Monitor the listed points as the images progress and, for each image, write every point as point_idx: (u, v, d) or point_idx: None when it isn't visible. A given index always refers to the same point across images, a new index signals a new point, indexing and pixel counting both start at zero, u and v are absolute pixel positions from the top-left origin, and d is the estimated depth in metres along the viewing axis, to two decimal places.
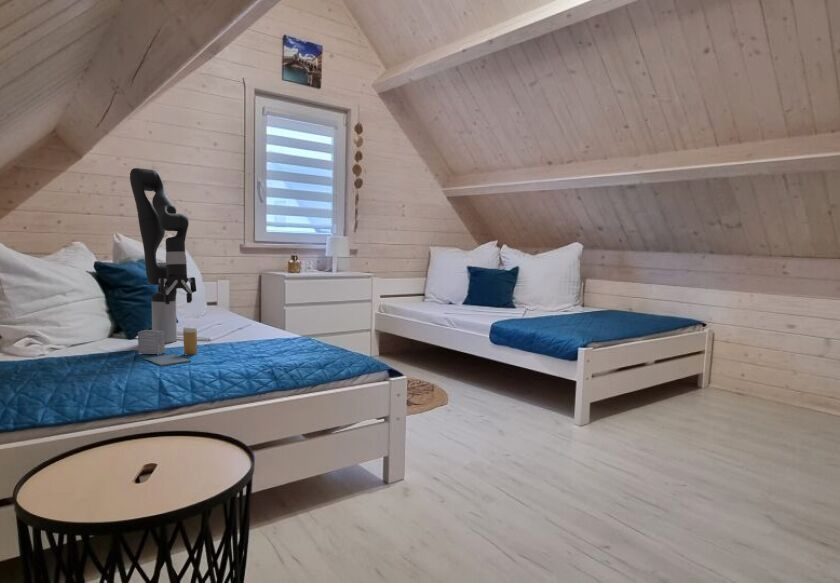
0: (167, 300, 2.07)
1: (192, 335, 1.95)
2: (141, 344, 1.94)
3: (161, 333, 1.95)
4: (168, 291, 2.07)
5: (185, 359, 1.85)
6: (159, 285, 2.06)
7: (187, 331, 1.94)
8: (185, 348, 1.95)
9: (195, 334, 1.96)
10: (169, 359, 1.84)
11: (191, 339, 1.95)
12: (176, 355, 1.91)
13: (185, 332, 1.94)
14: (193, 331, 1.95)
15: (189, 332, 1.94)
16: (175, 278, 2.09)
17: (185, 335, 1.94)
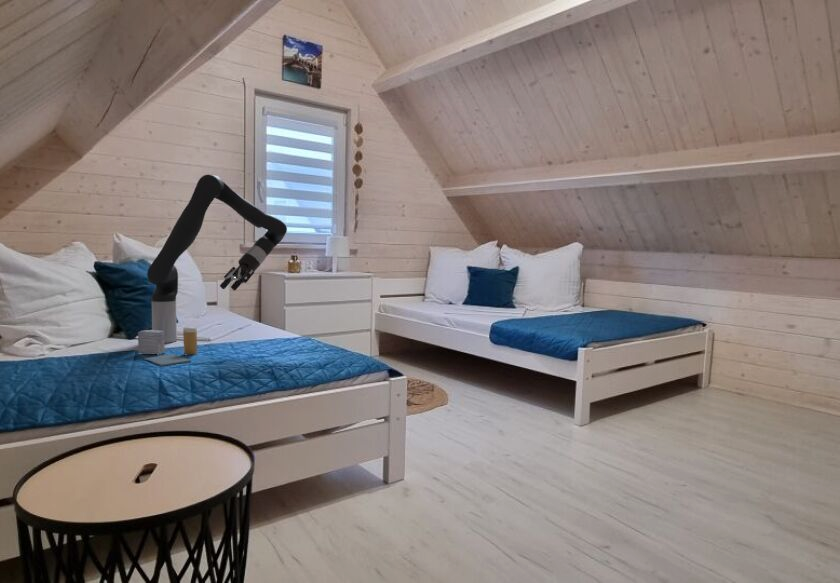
0: (237, 287, 2.05)
1: (192, 335, 1.95)
2: (141, 344, 1.94)
3: (161, 333, 1.95)
4: None
5: (185, 359, 1.85)
6: (248, 274, 2.05)
7: (187, 331, 1.94)
8: (185, 348, 1.95)
9: (195, 334, 1.96)
10: (169, 359, 1.84)
11: (191, 339, 1.95)
12: (176, 355, 1.91)
13: (185, 332, 1.94)
14: (193, 331, 1.95)
15: (189, 332, 1.94)
16: None
17: (185, 335, 1.94)
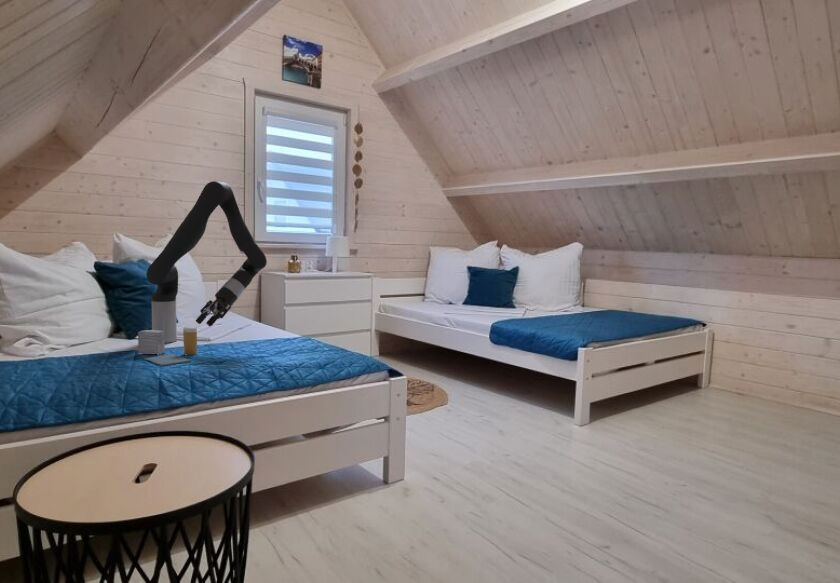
0: (213, 323, 1.98)
1: (192, 335, 1.95)
2: (141, 344, 1.94)
3: (161, 333, 1.95)
4: None
5: (185, 359, 1.85)
6: (224, 310, 1.99)
7: (187, 331, 1.94)
8: (185, 348, 1.95)
9: (195, 334, 1.96)
10: (169, 359, 1.84)
11: (191, 339, 1.95)
12: (176, 355, 1.91)
13: (185, 332, 1.94)
14: (193, 331, 1.95)
15: (189, 332, 1.94)
16: None
17: (185, 335, 1.94)
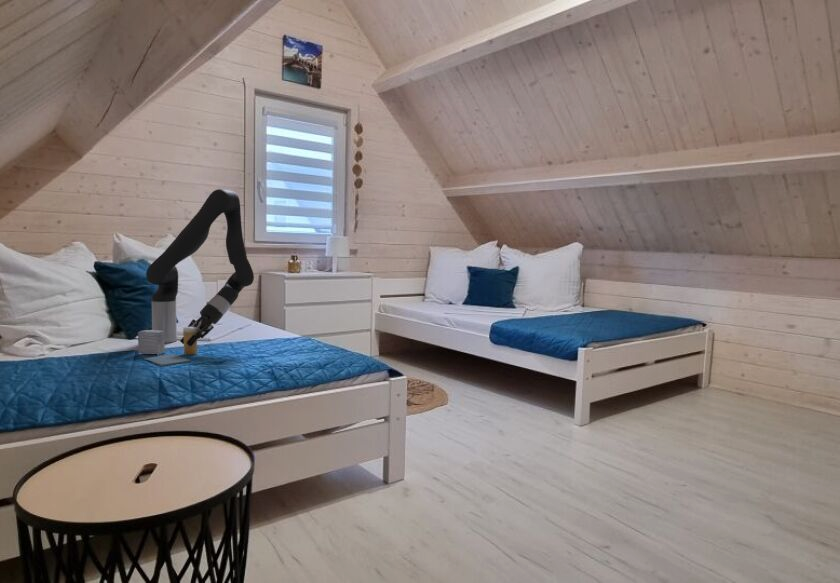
0: None
1: None
2: (141, 344, 1.94)
3: (161, 333, 1.95)
4: None
5: (185, 359, 1.85)
6: (206, 330, 1.95)
7: (187, 331, 1.94)
8: (185, 348, 1.95)
9: None
10: (169, 359, 1.84)
11: None
12: (176, 355, 1.91)
13: (185, 332, 1.94)
14: (193, 331, 1.95)
15: (189, 332, 1.94)
16: None
17: (185, 335, 1.94)
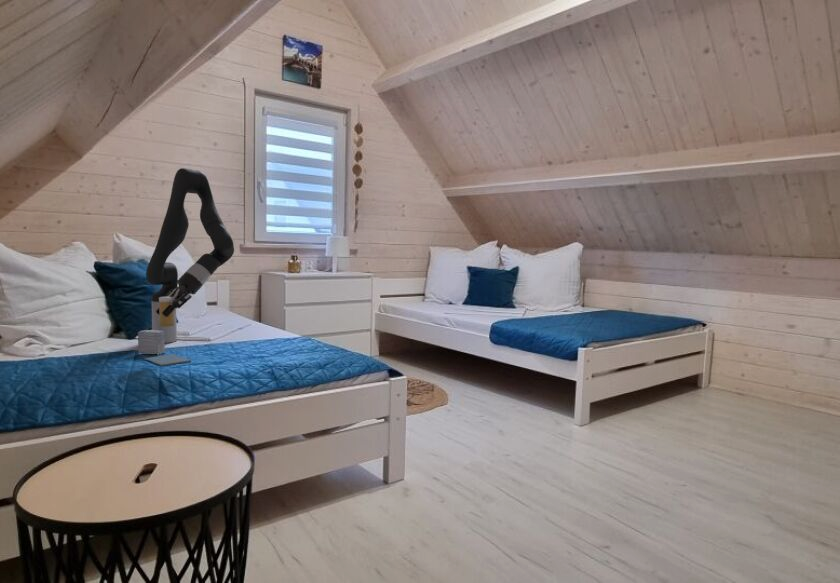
0: None
1: (168, 305, 1.82)
2: (141, 344, 1.94)
3: (161, 333, 1.95)
4: None
5: (185, 359, 1.85)
6: (183, 299, 1.81)
7: (163, 301, 1.81)
8: (161, 319, 1.82)
9: None
10: (169, 359, 1.84)
11: None
12: (176, 355, 1.91)
13: (161, 302, 1.81)
14: (169, 301, 1.82)
15: (165, 302, 1.81)
16: None
17: (161, 305, 1.81)
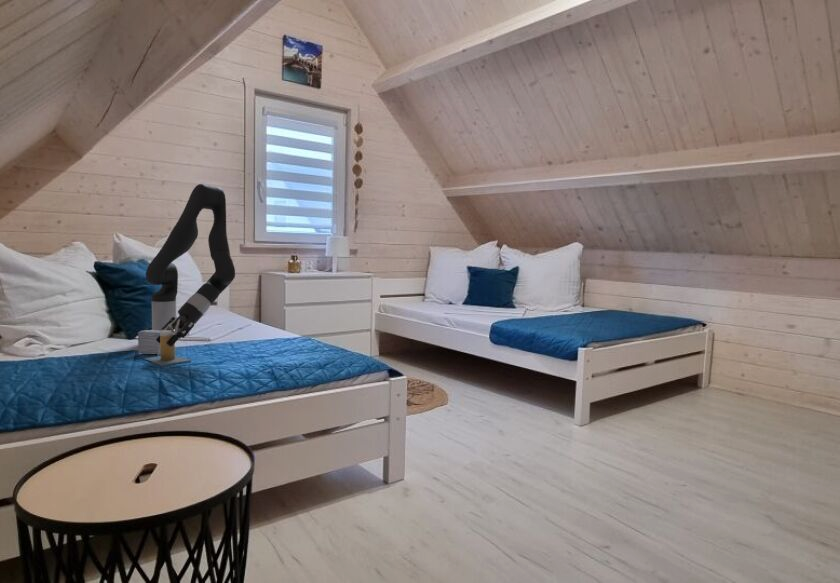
0: (173, 343, 1.82)
1: None
2: (141, 344, 1.94)
3: None
4: None
5: (185, 359, 1.85)
6: (187, 328, 1.82)
7: (164, 335, 1.82)
8: (162, 353, 1.83)
9: None
10: None
11: None
12: (176, 355, 1.91)
13: (162, 336, 1.82)
14: (170, 335, 1.83)
15: (166, 336, 1.82)
16: None
17: (162, 339, 1.82)
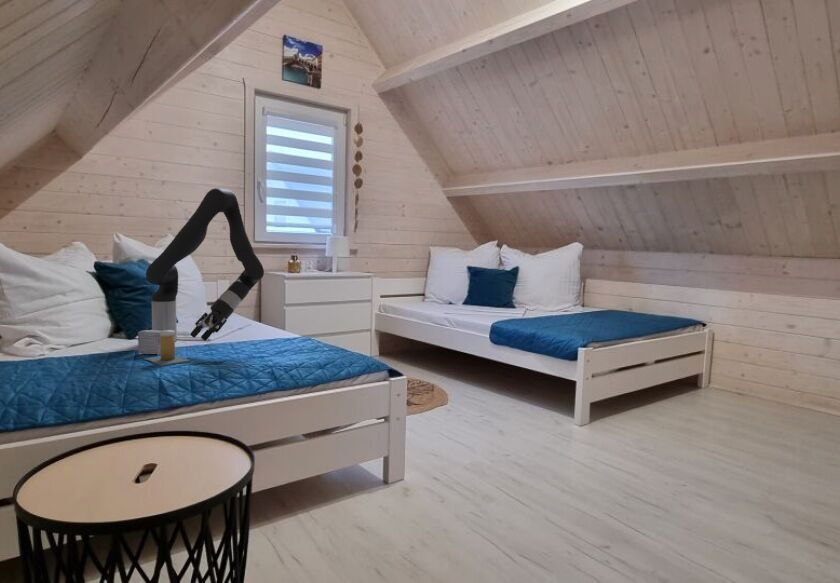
0: None
1: (169, 339, 1.83)
2: (141, 344, 1.94)
3: None
4: None
5: (185, 359, 1.85)
6: (220, 323, 1.92)
7: (164, 335, 1.82)
8: (162, 353, 1.83)
9: (173, 338, 1.84)
10: None
11: (168, 343, 1.83)
12: (176, 355, 1.91)
13: (162, 336, 1.82)
14: (170, 335, 1.83)
15: (166, 336, 1.82)
16: None
17: (162, 339, 1.82)
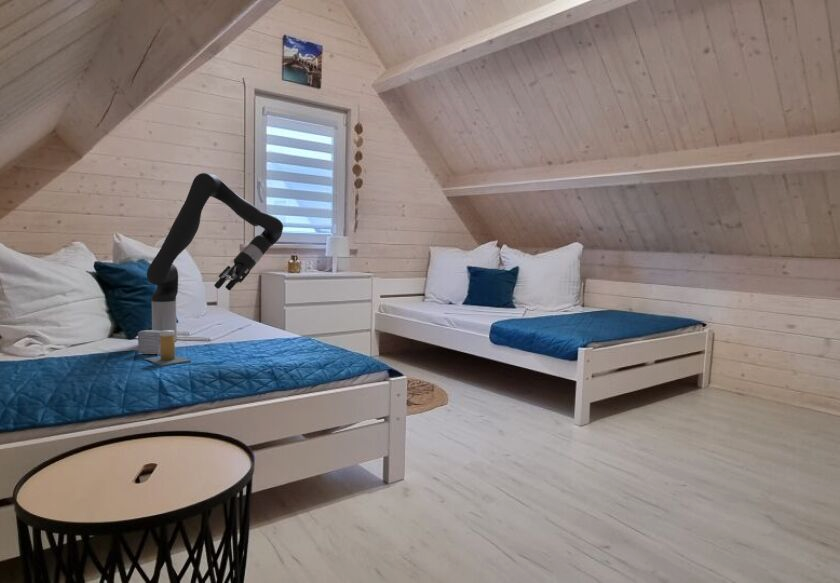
0: (231, 287, 1.99)
1: (169, 339, 1.83)
2: (141, 344, 1.94)
3: None
4: None
5: (185, 359, 1.85)
6: (243, 274, 1.99)
7: (164, 335, 1.82)
8: (162, 353, 1.83)
9: (172, 338, 1.84)
10: None
11: (168, 343, 1.82)
12: (176, 355, 1.91)
13: (162, 336, 1.82)
14: (170, 335, 1.83)
15: (166, 336, 1.82)
16: None
17: (162, 339, 1.82)
